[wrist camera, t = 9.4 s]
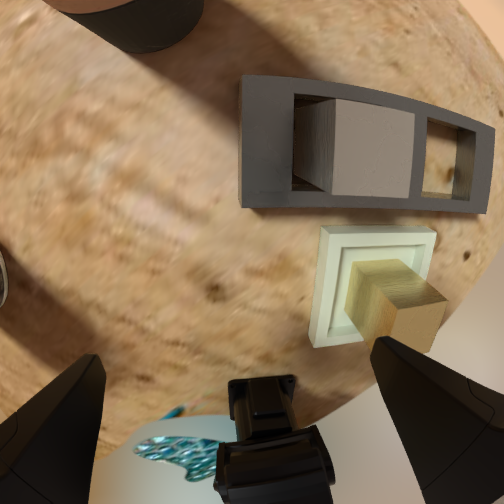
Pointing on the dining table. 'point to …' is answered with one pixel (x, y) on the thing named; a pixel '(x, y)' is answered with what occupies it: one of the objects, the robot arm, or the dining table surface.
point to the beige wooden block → (393, 304)
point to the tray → (339, 268)
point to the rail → (287, 195)
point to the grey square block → (354, 148)
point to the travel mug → (134, 20)
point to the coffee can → (3, 281)
